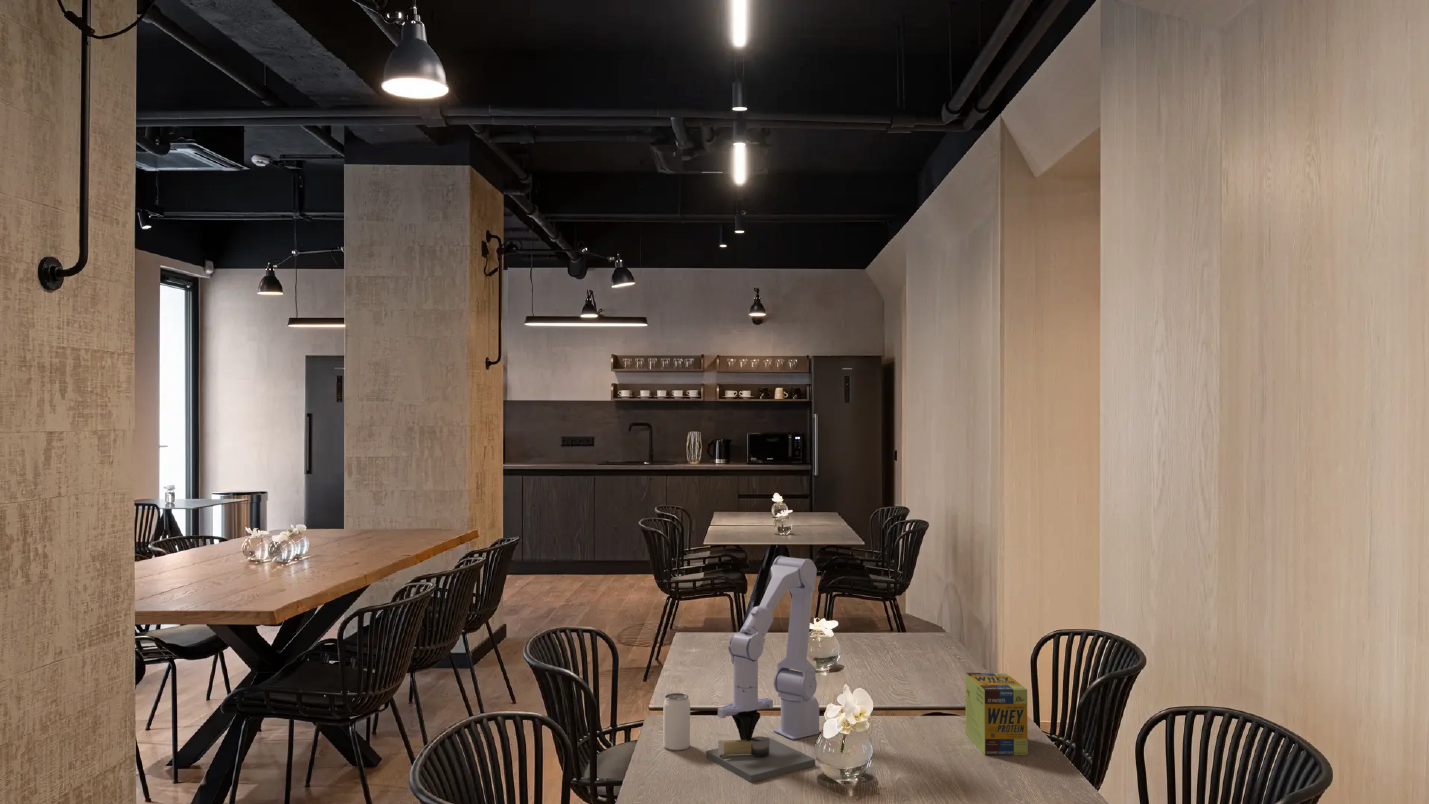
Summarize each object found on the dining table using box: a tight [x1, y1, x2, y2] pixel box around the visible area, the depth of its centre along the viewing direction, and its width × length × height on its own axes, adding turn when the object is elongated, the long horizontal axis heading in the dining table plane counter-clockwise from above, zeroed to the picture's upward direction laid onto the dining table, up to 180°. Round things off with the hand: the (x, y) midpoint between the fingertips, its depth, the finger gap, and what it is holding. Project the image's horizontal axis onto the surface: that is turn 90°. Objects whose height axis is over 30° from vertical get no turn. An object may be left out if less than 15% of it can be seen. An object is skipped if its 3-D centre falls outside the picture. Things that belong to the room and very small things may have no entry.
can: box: [662, 692, 691, 752], centre depth 219 cm, size 6×6×12 cm
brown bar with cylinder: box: [717, 735, 770, 756], centre depth 209 cm, size 4×12×3 cm, turn 94°
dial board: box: [705, 736, 816, 783], centre depth 209 cm, size 18×18×2 cm
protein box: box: [964, 672, 1029, 756], centre depth 221 cm, size 10×15×16 cm
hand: (745, 743), depth 213 cm, fingers closed
